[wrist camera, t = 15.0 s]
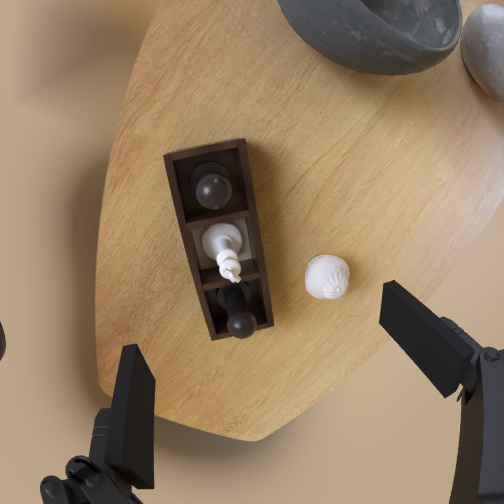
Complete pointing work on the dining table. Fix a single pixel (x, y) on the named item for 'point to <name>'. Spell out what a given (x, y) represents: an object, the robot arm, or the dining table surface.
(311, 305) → the dining table surface
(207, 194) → the ebony piece
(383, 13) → the bowl
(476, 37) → the vase
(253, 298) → the rack
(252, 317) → the ebony piece
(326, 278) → the muffin
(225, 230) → the chess piece
